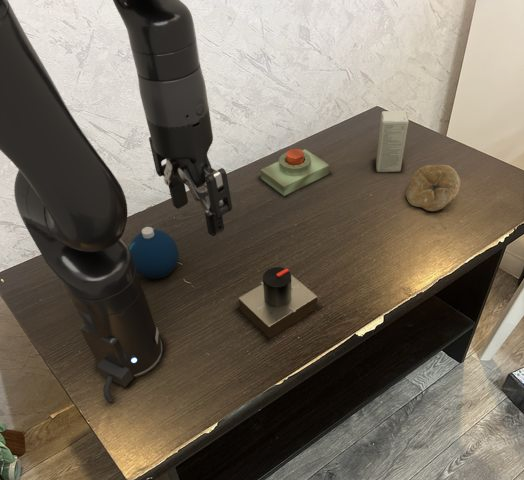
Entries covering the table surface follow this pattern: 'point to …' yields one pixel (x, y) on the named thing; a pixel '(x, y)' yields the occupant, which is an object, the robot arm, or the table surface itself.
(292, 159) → the button
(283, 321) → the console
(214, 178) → the robot arm
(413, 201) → the fossil
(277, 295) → the dial
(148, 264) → the christmas ornament
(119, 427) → the table surface
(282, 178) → the button block
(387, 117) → the box
